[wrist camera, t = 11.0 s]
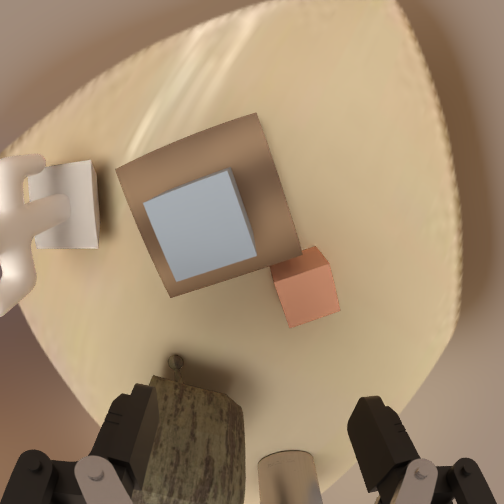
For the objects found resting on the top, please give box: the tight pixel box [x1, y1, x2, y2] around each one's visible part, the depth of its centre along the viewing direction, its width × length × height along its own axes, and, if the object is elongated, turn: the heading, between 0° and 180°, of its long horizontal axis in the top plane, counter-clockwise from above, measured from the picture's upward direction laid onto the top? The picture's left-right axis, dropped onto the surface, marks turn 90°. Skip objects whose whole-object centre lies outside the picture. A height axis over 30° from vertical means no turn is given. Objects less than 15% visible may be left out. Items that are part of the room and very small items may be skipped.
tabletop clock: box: [131, 356, 246, 504], centre depth 20 cm, size 14×9×25 cm, turn 162°
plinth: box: [115, 113, 303, 298], centre depth 22 cm, size 11×11×4 cm
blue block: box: [143, 167, 257, 282], centre depth 18 cm, size 5×5×5 cm
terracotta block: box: [270, 246, 340, 328], centre depth 25 cm, size 4×4×4 cm
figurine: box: [0, 154, 100, 317], centre depth 16 cm, size 7×9×15 cm
